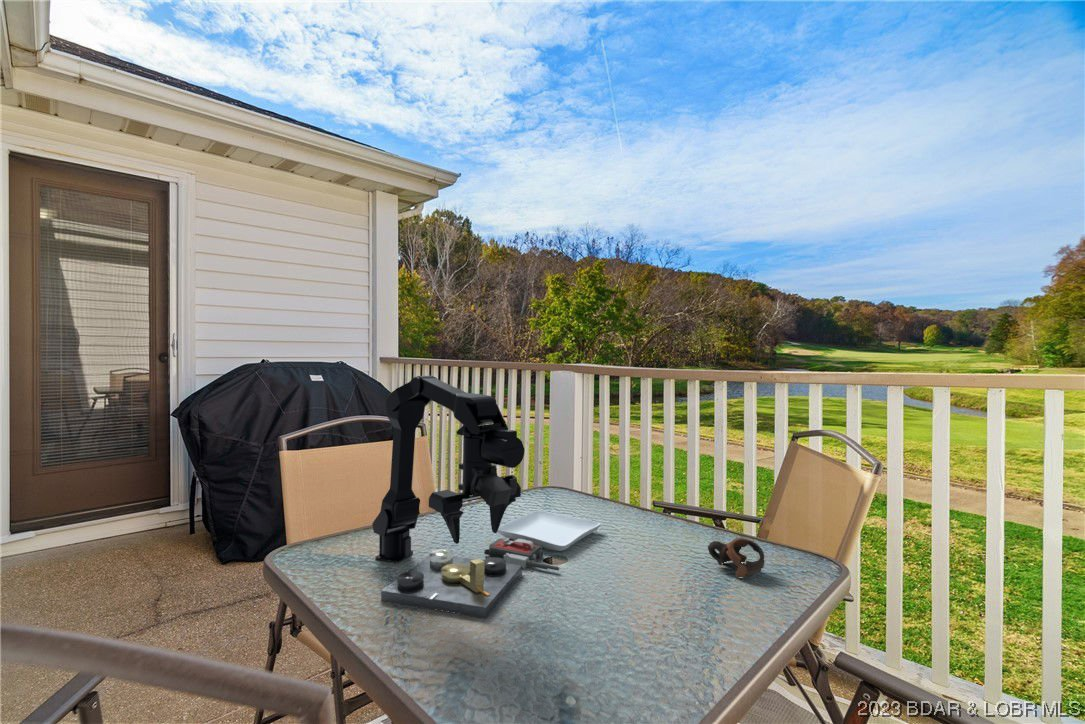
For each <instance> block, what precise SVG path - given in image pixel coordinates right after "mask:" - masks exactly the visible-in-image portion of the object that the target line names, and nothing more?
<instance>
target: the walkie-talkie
mask: <svg viewBox="0 0 1085 724" xmlns="http://www.w3.org/2000/svg"><path fill="white" fill-rule="evenodd" d="M488 547H489V548H487V549H484V551H483V554H484V555H487V556H488V558H492V557H497V558H502V559H504V560H506V563H508V564H516V565H522V569H526V568H528V567H530V568H532V567H533V568H537V569H543V570H552V571H553V570H554V571H560V568H559V567H560V566H556V565H550V564H547V563H542V562H537V561H538V560H542V559H543V557H544V550H543V548H542V547H541V546H537V545H535V544H534V542H533V541H529V540H524V539H517V540H510V539H509V538H505V539H502V538H498V539H496V540H495V541H492V542H491V543H490V544H489V545H488Z"/></svg>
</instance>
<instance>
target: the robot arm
mask: <svg viewBox="0 0 1085 724" xmlns="http://www.w3.org/2000/svg"><path fill="white" fill-rule="evenodd" d="M431 402H435V403H436V404H439V405H441V406H442V407H444V408H446V409H448V410H450V411H451V412H452V415H453V417H454V419H456V420H457V421H458V423H460V424H462V426H461V427H460V428H459V429H458V430H456V432H455V433H456V435H458V436H462V442H463V443H462V447H463V448H462V462H461V463H458V469H459V470H461V471H462V483H458V490H459V491H462V492H455V491H452V490H449V489H442V490H438V491H432V493H431V494H430V495H429V497H428V507H429V509H432V510H434V511H436V512H437V513H439V514H440V515H441V516H442V519H443V520H444V522H445V524H446V527H447V529H448V531H449V534H450V535H451V539H452V541H453V543H454V544H456V545H458V544H459V543H460V536H461V535H460V533H461V532H460V531H461V530H460V526H461V525H460V524H461V523H460V520H461V517H462V515H463V514H464V511H462V510H461V509H462V508H463V504H464V503H468V502H472V501H475V500H483V501H484V502H485V504H486V505H487V506H489V517H490V518H489V519H490V527H491V532H492V533H493V534H497V533H498V532H497V531H498V528H499V526H501V522H502V520H503V517H504V514H505V512H506V510H507V508H508V507H509V506H510V505H511V504H513V503H515V502H516V500H517V498H521V496H522V487H521V485H520V484H519V482H518V477H516V476H515V475H514V474H508V475H505V476H504V475H503V476H499V475H498V473H497V465H498V466H499V467H500V466H501V467H505V468H510V469H514V468H517V467H518V466H519V465H520V464H521V463H522V461H523V459H524V456H525V448H526V447H524V443H523V441H522V440H521V438H519V437H518V431H517V430H514V429H512V430H511V429H510V430H509V427H508V425H507V422H506V420H505V419H504V417H503V414H502V412H501V410H500V407H499V406H498V404H497V400H496V398H494V397H493V396H492V395H489V394H488V395H486V394H483V393H471V392H466V391H463V390H462V389H460V388H458V387H456V386H453V385H452V384H449V383H446V382H444V381H442V380H441V379H438V378H437V377H435V376H434V375H417V376H415V377H413V378H411V380H409V381H408V382H406V383H405V384H403V385H401V386H399V387H397V388H395V389H394V390H393V391H391V392H390V394H389V395H388V396H387V398H386V401H385V406H386V417H387V418H388V420H389V422H390V424H391V425H392V428H393V434H392V450H391V452H392V453H391V462H390V463H391V464H390V465H391V467H390V482H389V489H388V490H387V492H386V494H385V496H383V499H382V500H381V506H380V512H379V513H378V515H377V516H376V518H375V519H374V521H372V523H371V525H372V529H373V530H372V531H373V533H374V534H376V535H378V536H379V544H378V545H379V546H378V547H379V548H378V549H379V551H378V552H379V553H378V554H377V555H376V556H375V560H378V561H383V562H385V561H386V562H393V563H401V561H403V560H405V559H406V558H408V557H409V556H410V555H412V554H414V551H413V550H412V536H411V535H410V534H411V533H410V530H412V529H413V530H414V529H415V528H416V525H417V521H418V518H419V515H420V514H421V513H420V504H421V499H420V498H419V497H417V496H416V494H415V492H414V491H413V477H414V475H413V474H414V460H415V445H416V432H417V431H416V430H417V427H418V426H419V425H420V423H421V422H422V420H423V418H424V414H425V410H426V407H427V406H428V405H429V404H430V403H431Z"/></svg>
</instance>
